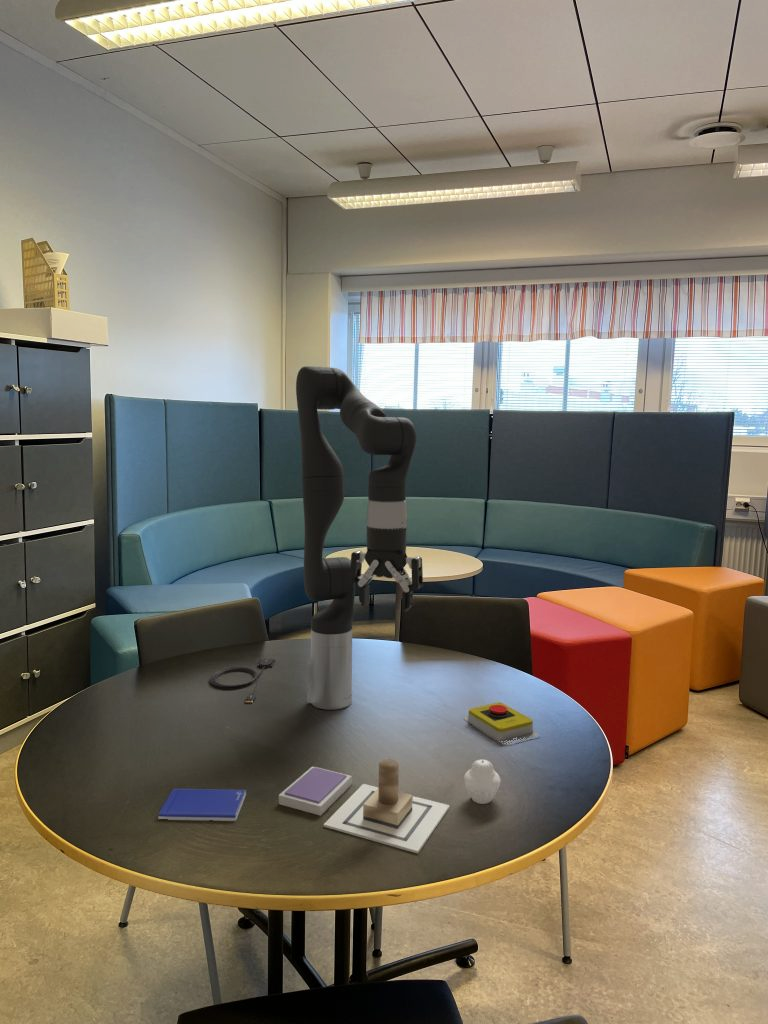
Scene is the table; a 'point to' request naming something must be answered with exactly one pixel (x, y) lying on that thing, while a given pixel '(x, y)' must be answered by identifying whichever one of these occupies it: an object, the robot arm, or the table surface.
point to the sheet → (405, 837)
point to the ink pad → (315, 790)
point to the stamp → (388, 798)
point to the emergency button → (501, 722)
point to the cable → (250, 699)
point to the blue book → (203, 804)
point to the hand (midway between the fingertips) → (385, 607)
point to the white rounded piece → (482, 781)
